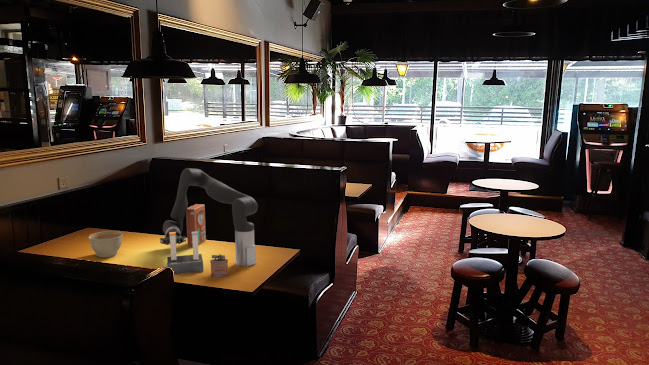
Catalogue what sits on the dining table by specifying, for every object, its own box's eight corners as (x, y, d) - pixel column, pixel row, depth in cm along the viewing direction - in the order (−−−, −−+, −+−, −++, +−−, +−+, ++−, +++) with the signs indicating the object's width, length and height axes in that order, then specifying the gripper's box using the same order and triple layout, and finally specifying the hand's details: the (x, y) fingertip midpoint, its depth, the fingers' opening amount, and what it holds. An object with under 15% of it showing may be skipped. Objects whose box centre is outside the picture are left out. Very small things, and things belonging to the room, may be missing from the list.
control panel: (208, 240, 280) (196, 247, 265) (196, 239, 281) (184, 246, 266) (206, 203, 276) (195, 209, 262) (195, 203, 278) (183, 208, 263)
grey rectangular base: (167, 266, 233) (167, 256, 233) (201, 263, 238) (201, 253, 237) (167, 275, 222) (167, 264, 221) (203, 271, 227) (202, 261, 226)
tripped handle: (170, 258, 229) (169, 232, 227) (176, 258, 230) (175, 231, 228) (170, 260, 226) (169, 233, 224) (177, 259, 227) (175, 233, 225)
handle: (192, 258, 229) (191, 231, 227) (198, 257, 230) (197, 231, 228) (193, 260, 227) (191, 233, 225) (199, 259, 228) (197, 232, 226)
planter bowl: (93, 262, 241) (91, 241, 239) (87, 254, 254) (86, 234, 252) (127, 256, 250) (125, 235, 248) (119, 248, 263) (118, 229, 261)
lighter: (229, 274, 223) (228, 253, 222) (227, 276, 220) (227, 255, 218) (211, 274, 223) (210, 253, 221) (210, 277, 220) (209, 256, 218)
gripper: (159, 229, 246) (158, 238, 230) (185, 227, 250) (187, 235, 234) (160, 243, 248) (159, 253, 231) (186, 241, 252) (187, 250, 235)
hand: (173, 244), depth 233 cm, fingers closed
